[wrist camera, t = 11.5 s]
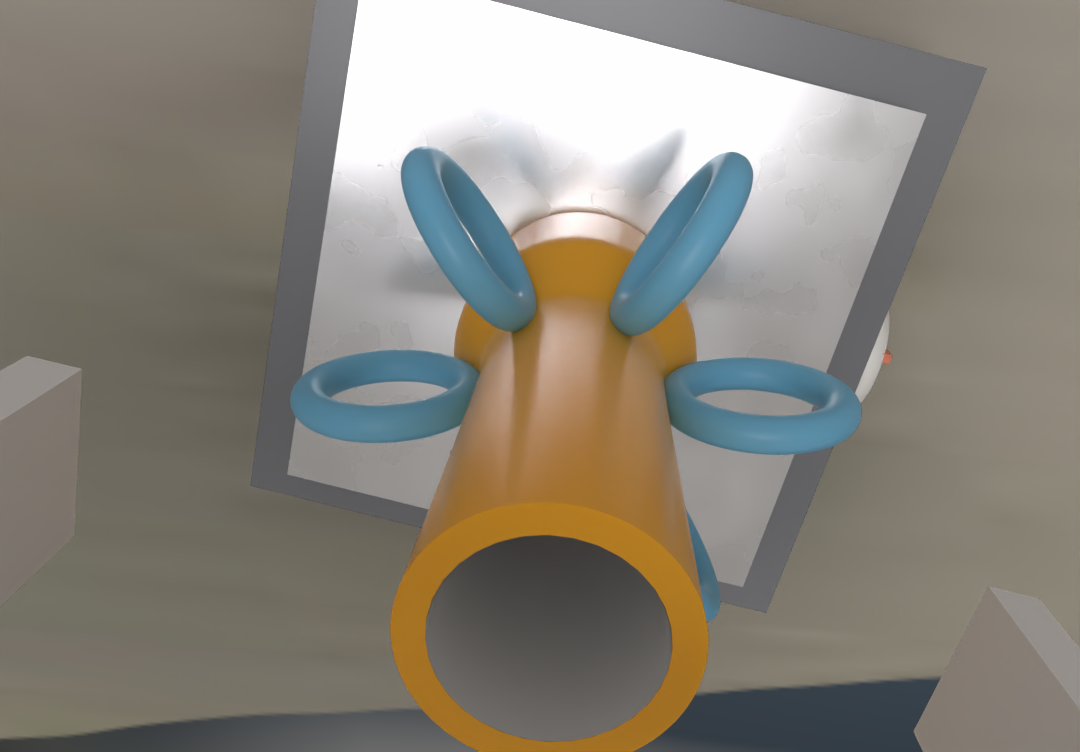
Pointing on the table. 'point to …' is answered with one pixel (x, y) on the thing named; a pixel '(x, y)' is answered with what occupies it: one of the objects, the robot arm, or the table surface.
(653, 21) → the base
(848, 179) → the pan
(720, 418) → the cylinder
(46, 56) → the table surface
